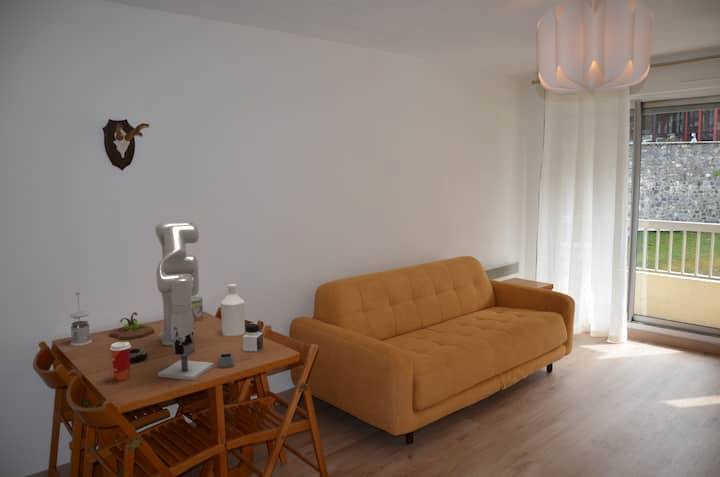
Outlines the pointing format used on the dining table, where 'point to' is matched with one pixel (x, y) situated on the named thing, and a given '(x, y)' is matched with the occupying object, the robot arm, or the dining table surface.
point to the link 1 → (186, 348)
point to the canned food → (197, 309)
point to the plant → (131, 330)
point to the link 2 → (225, 360)
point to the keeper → (186, 369)
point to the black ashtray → (137, 355)
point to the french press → (80, 328)
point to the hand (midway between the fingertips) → (184, 351)
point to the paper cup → (121, 360)
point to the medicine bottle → (252, 338)
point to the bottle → (233, 313)
